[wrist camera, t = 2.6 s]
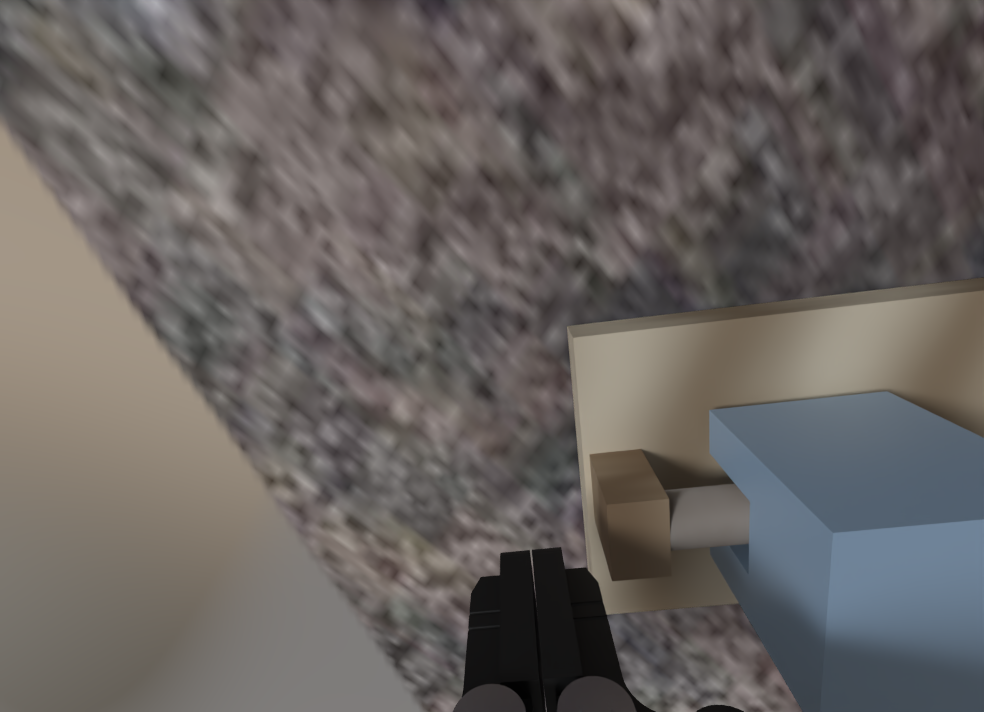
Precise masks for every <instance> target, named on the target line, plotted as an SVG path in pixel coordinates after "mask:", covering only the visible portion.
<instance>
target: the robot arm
mask: <svg viewBox="0 0 984 712" xmlns="http://www.w3.org/2000/svg"><path fill="white" fill-rule="evenodd" d="M532 556H533V568H534V580H535V590H534V582H533V573H532V565H531V557H530V550H527V551H516V552H505V553H501V554H500V575H499V576H488V577H481V578H480V580H479V581H478V583H477V585H476V586H475V588H474V590H473V591H472V593H471V602H470V616H469V627H468V628H469V631H468V639H467V651H466V663H465V676H464V688H463V695H462V698H461V699H460V700H459V701H458V703H457V705H456V706H455V708H454V711H453V712H546V708H545V699H546V707H547V712H655V711H653V710H651V709H649V708H647V707H646V706H644V705H643V704H642V703H640V702H639V701H638V700H637V699H636V698H635V697H634V696H633V695H632V694H631V693H630V691H629V690H628V688H627V687H626V685H625V683H624V680H623V677H622V673H621V670H620V666H619V662H618V658H617V654H616V650H615V646H614V642H613V638H612V634H611V630H610V626H609V622H608V619H607V614H606V611H605V607H604V604H603V599H602V595H601V591H600V587H599V583H598V581H597V580H596V579H595V578H594V577H593V576H592V574H591V573H590V572H589V571H588V570H587V569H586V568H575V569H565V567H564V562H563V556H562V550H561V547H558V548H547V549H536V550H532ZM535 591H536V598H535ZM536 603H537V607H536ZM537 615H538V616H537ZM543 683H544V684H543ZM544 691H545V696H544ZM697 712H744V711H741V710H739V709H737V708H734V707H731V706H725V705H711V706H706V707H703V708H701V709H700V710H698V711H697Z"/></svg>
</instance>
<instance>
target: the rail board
mask: <svg viewBox="0 0 984 712" xmlns="http://www.w3.org/2000/svg"><path fill="white" fill-rule="evenodd" d="M567 331H568V343H569V355H570V366H571V378H572V389H573V401H574V412H575V424H576V435H577V447H578V459H579V470H580V482H581V493H582V505H583V516H584V528H585V539H586V551H587V562H588V571H589V572H590V573H591V574H592V576H593V577H594V578H595V579H596V580H597V581H598V583H599V587H600V591H601V595H602V599H603V604H604V607H605V611H606V614H619V613H631V612H643V611H655V610H667V609H679V608H691V607H703V606H716V605H728V604H739V602H738V601H737V599H736V597H735V596H734V594H733V592H732V591H731V589H730V587H729V586H728V584H727V582H726V580H725V579H724V577H723V575H722V574H721V572H720V570H719V569H718V567H717V565H716V564H715V562H714V560H713V558H712V557H711V555H710V547H719V546H731V545H742V544H749V522H750V501H749V500H748V499H747V498H746V496H745V495H744V494H743V493H742V492H741V490H740V489H739V488H738V487H737V486H736V484H735V483H734V482H733V481H732V480H731V478H730V477H729V476H728V475H727V473H726V472H725V471H724V470H723V469H722V467H721V466H720V465H719V464H718V463H717V461H716V460H715V459H714V458H713V457H712V455H711V454H710V447H709V410H713V409H723V408H732V407H742V406H751V405H761V404H770V403H780V402H789V401H799V400H808V399H818V398H827V397H837V396H846V395H856V394H865V393H875V392H884V391H888V392H890V393H892V394H894V395H896V396H898V397H900V398H902V399H904V400H906V401H909V402H911V403H913V404H915V405H917V406H919V407H921V408H923V409H925V410H927V411H929V412H931V413H933V414H935V415H937V416H940V417H942V418H944V419H946V420H948V421H950V422H952V423H954V424H956V425H958V426H960V427H962V428H964V429H966V430H969V431H971V432H973V433H975V434H977V435H979V436H981V437H983V438H984V278H975V279H967V280H958V281H949V282H941V283H932V284H924V285H915V286H907V287H898V288H889V289H881V290H872V291H864V292H855V293H847V294H838V295H829V296H821V297H812V298H804V299H795V300H787V301H778V302H769V303H761V304H752V305H744V306H735V307H727V308H718V309H709V310H701V311H692V312H684V313H675V314H667V315H658V316H649V317H641V318H632V319H624V320H615V321H607V322H598V323H589V324H581V325H572V326H567Z"/></svg>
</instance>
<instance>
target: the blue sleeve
mask: <svg viewBox="0 0 984 712" xmlns="http://www.w3.org/2000/svg"><path fill="white" fill-rule="evenodd" d="M709 447H710V454H711V455H712V457H713V458H714V459H715V460H716V461H717V463H718V464H719V465H720V466H721V467H722V469H723V470H724V471H725V472H726V473H727V475H728V476H729V477H730V478H731V480H732V481H733V482H734V483H735V484H736V486H737V487H738V488H739V489H740V490H741V492H742V493H743V494H744V495H745V496H746V498H747V499H748V500H749V501H750V522H749V544H742V545H731V546H719V547H710V555H711V557H712V558H713V560H714V562H715V564H716V565H717V567H718V569H719V570H720V572H721V574H722V575H723V577H724V579H725V580H726V582H727V584H728V586H729V587H730V589H731V591H732V592H733V594H734V596H735V597H736V599H737V601H738V602H739V604H740V606H741V608H742V609H743V611H744V613H745V614H746V616H747V618H748V619H749V621H750V623H751V625H752V626H753V628H754V630H755V631H756V633H757V635H758V636H759V638H760V640H761V641H762V643H763V645H764V647H765V648H766V650H767V652H768V653H769V655H770V657H771V658H772V660H773V662H774V663H775V665H776V667H777V669H778V670H779V672H780V674H781V675H782V677H783V679H784V680H785V682H786V684H787V686H788V687H789V689H790V691H791V692H792V694H793V696H794V697H795V699H796V701H797V702H798V704H799V706H800V708H801V709H802V711H803V712H984V438H983V437H981V436H979V435H977V434H975V433H973V432H971V431H969V430H966V429H964V428H962V427H960V426H958V425H956V424H954V423H952V422H950V421H948V420H946V419H944V418H942V417H940V416H937V415H935V414H933V413H931V412H929V411H927V410H925V409H923V408H921V407H919V406H917V405H915V404H913V403H911V402H909V401H906V400H904V399H902V398H900V397H898V396H896V395H894V394H892V393H890V392H888V391H884V392H875V393H865V394H856V395H846V396H837V397H827V398H818V399H808V400H799V401H789V402H780V403H770V404H761V405H751V406H742V407H732V408H723V409H713V410H709Z"/></svg>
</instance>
